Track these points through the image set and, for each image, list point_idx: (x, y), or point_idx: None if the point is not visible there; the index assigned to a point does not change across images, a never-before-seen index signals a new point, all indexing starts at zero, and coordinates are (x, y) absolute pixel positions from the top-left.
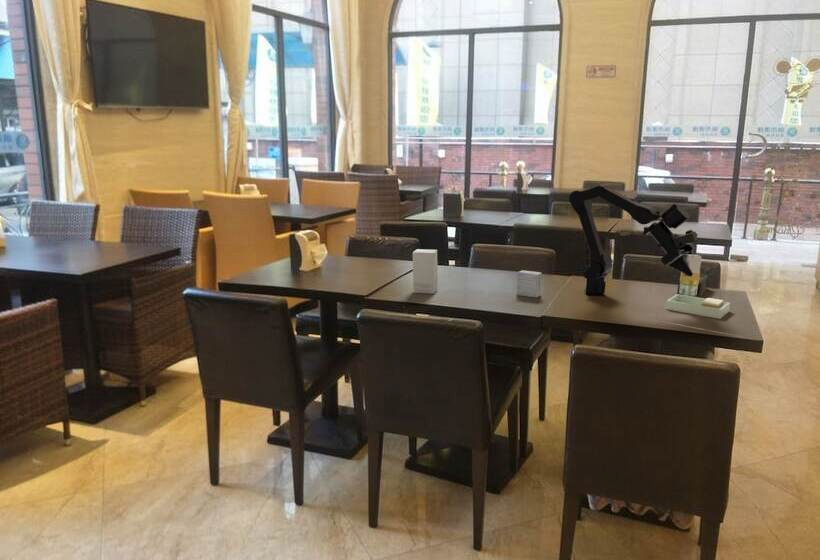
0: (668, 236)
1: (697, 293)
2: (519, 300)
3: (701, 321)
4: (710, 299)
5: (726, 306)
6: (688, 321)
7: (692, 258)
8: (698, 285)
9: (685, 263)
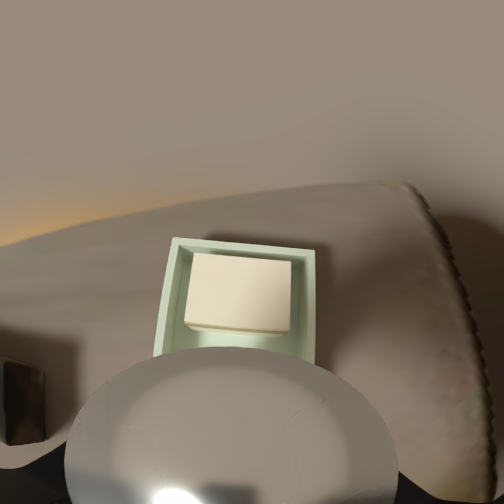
0: None
1: (32, 373)
2: None
3: (361, 314)
4: (215, 304)
5: (230, 244)
6: (388, 348)
7: (386, 455)
8: (11, 370)
9: (407, 478)
